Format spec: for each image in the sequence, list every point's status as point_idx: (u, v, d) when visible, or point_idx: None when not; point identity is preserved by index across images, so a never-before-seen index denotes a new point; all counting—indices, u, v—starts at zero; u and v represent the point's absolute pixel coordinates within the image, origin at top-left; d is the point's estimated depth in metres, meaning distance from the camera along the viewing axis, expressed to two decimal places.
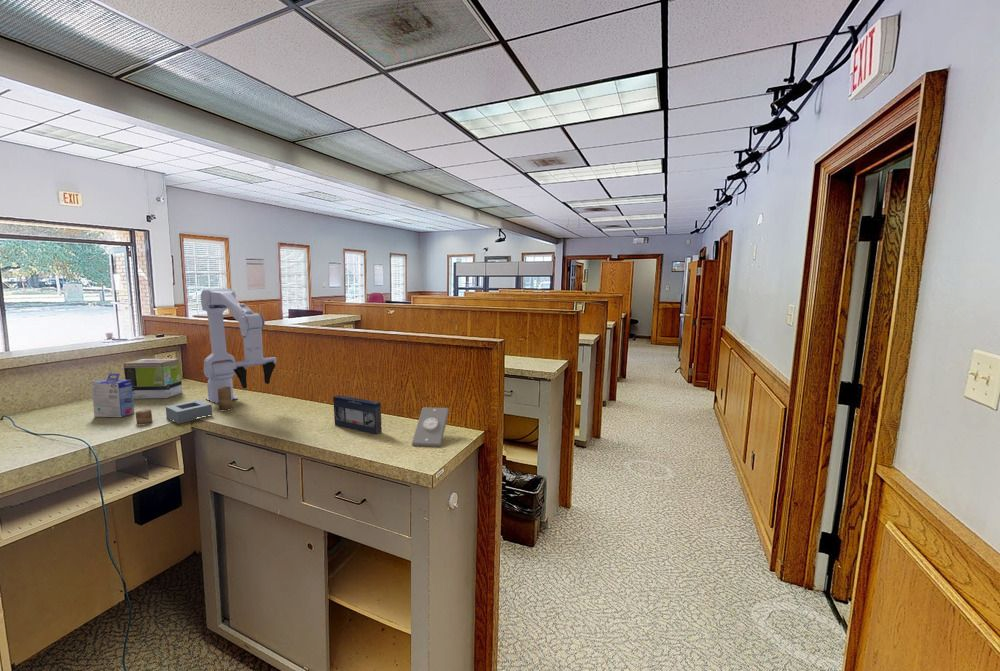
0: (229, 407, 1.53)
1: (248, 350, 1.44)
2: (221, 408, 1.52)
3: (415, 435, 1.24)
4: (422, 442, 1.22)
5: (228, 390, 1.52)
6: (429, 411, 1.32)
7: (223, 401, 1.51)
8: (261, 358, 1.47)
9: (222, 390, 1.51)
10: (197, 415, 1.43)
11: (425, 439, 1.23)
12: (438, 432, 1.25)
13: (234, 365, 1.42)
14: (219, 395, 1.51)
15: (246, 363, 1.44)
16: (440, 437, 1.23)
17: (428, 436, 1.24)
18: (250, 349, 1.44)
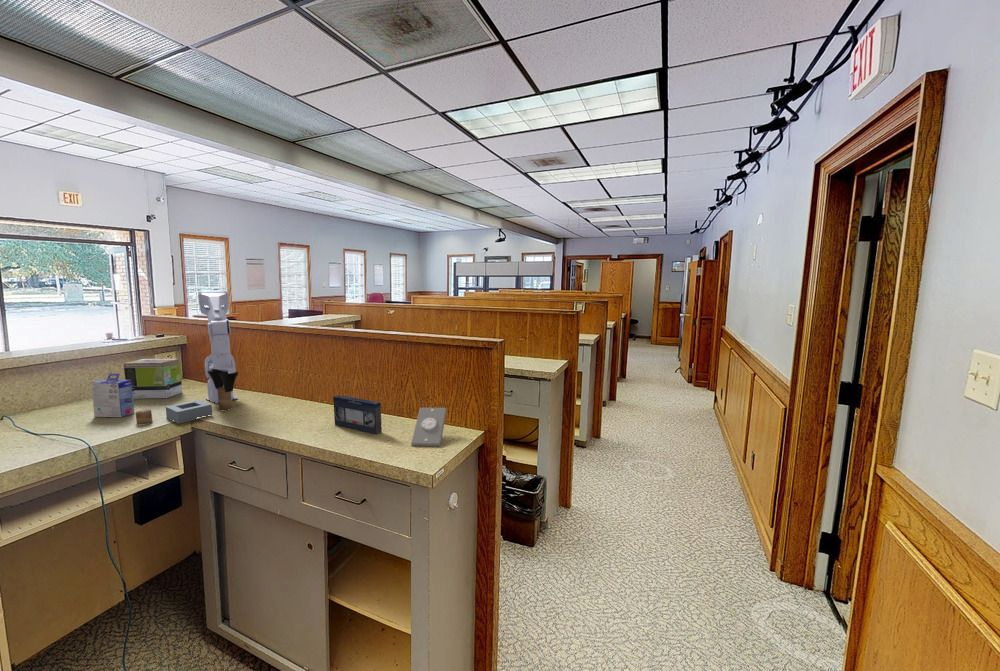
0: (229, 407, 1.53)
1: None
2: (221, 408, 1.52)
3: (414, 435, 1.24)
4: (421, 442, 1.22)
5: None
6: (427, 411, 1.32)
7: (223, 401, 1.51)
8: (216, 365, 1.49)
9: (222, 390, 1.51)
10: (197, 415, 1.43)
11: (424, 439, 1.23)
12: (437, 432, 1.25)
13: (210, 365, 1.54)
14: (219, 395, 1.51)
15: (211, 366, 1.52)
16: (439, 437, 1.23)
17: (427, 436, 1.23)
18: None
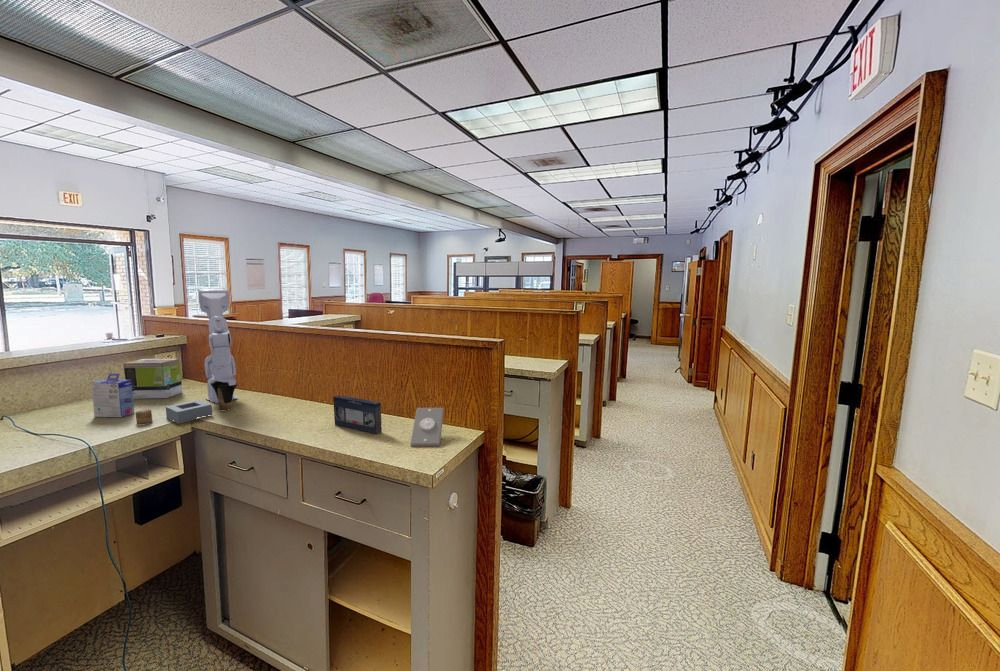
0: (229, 407, 1.53)
1: None
2: (221, 408, 1.52)
3: (413, 436, 1.23)
4: (421, 442, 1.22)
5: None
6: (425, 411, 1.31)
7: (223, 401, 1.51)
8: (217, 377, 1.49)
9: None
10: (197, 415, 1.43)
11: (423, 439, 1.22)
12: (436, 432, 1.25)
13: (211, 376, 1.55)
14: (219, 395, 1.51)
15: (212, 377, 1.52)
16: (438, 437, 1.23)
17: (426, 436, 1.23)
18: None
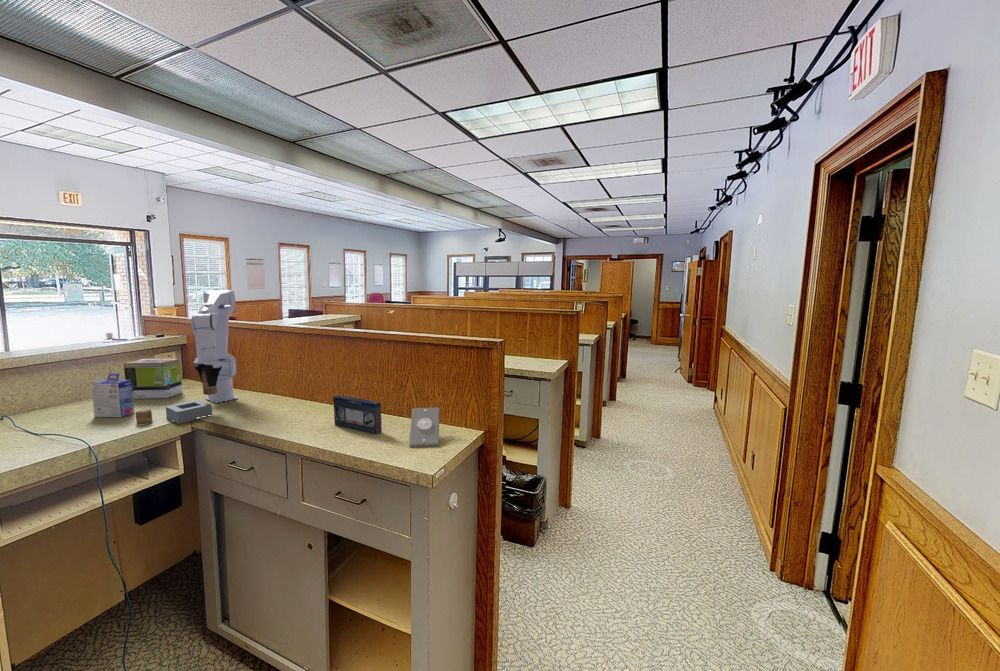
0: (214, 391, 1.49)
1: None
2: (205, 392, 1.47)
3: (411, 436, 1.23)
4: (420, 443, 1.21)
5: None
6: (420, 412, 1.31)
7: (207, 384, 1.47)
8: (201, 359, 1.45)
9: None
10: (197, 415, 1.43)
11: (422, 439, 1.22)
12: (434, 432, 1.25)
13: (195, 360, 1.50)
14: (203, 378, 1.47)
15: (196, 360, 1.48)
16: (437, 436, 1.24)
17: (424, 436, 1.23)
18: None
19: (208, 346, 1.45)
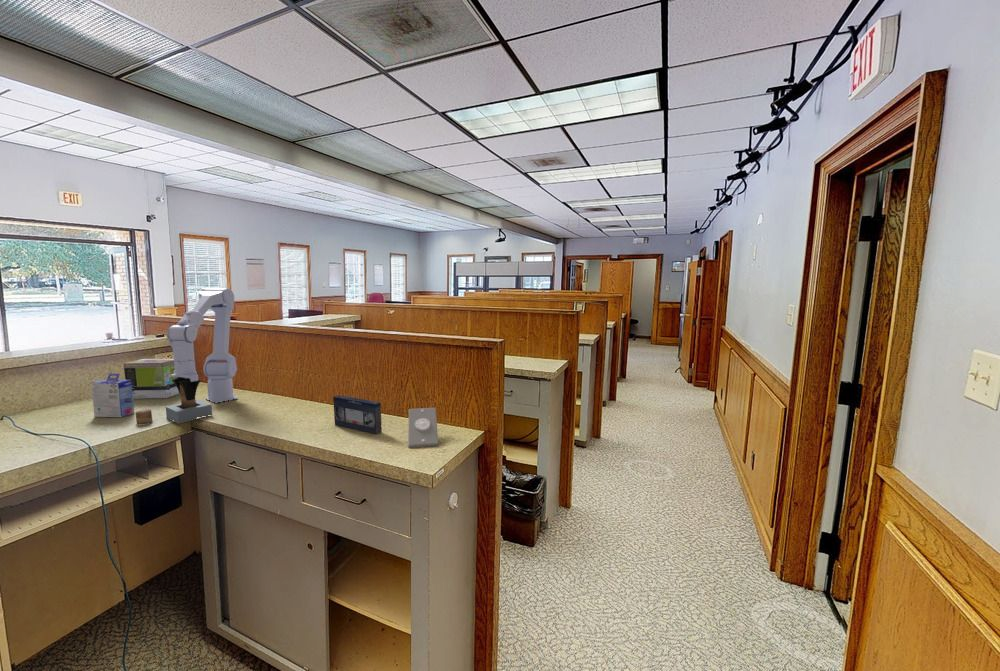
0: (192, 405, 1.44)
1: None
2: (183, 406, 1.43)
3: (410, 437, 1.22)
4: (419, 443, 1.21)
5: None
6: (417, 412, 1.31)
7: (185, 398, 1.42)
8: (178, 372, 1.40)
9: None
10: (197, 415, 1.43)
11: (421, 440, 1.22)
12: (433, 432, 1.25)
13: (174, 372, 1.46)
14: (181, 392, 1.42)
15: None
16: (436, 436, 1.24)
17: (423, 436, 1.23)
18: None
19: (183, 359, 1.40)
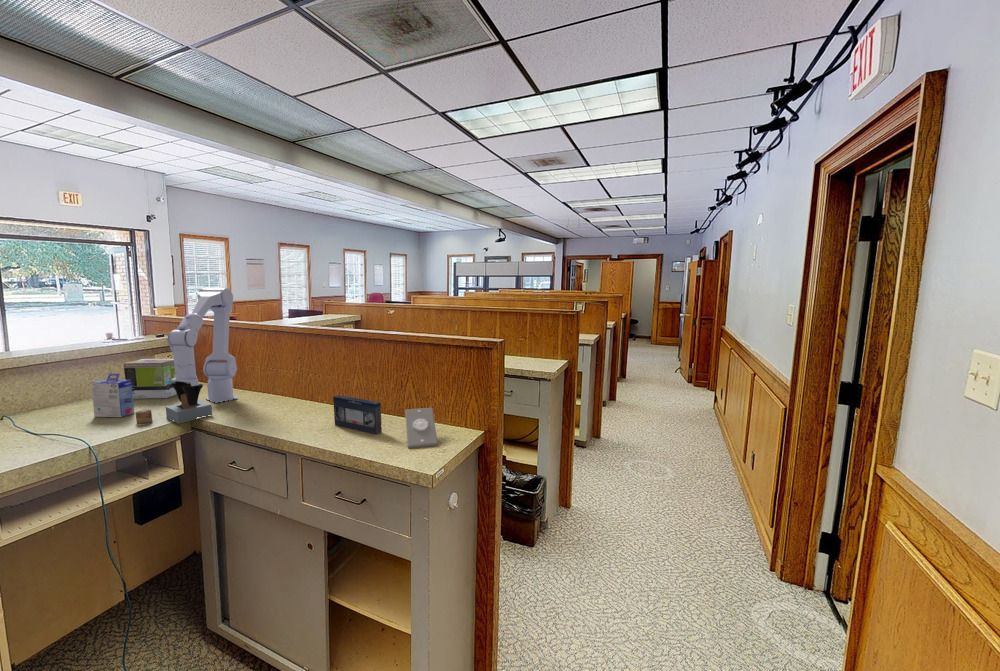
0: None
1: None
2: None
3: (408, 438, 1.22)
4: (418, 443, 1.21)
5: None
6: (414, 412, 1.30)
7: None
8: (179, 376, 1.40)
9: (185, 397, 1.42)
10: (197, 415, 1.43)
11: (420, 440, 1.22)
12: (431, 432, 1.25)
13: (174, 376, 1.46)
14: (182, 402, 1.42)
15: None
16: (435, 436, 1.24)
17: (422, 437, 1.23)
18: None
19: (183, 363, 1.40)
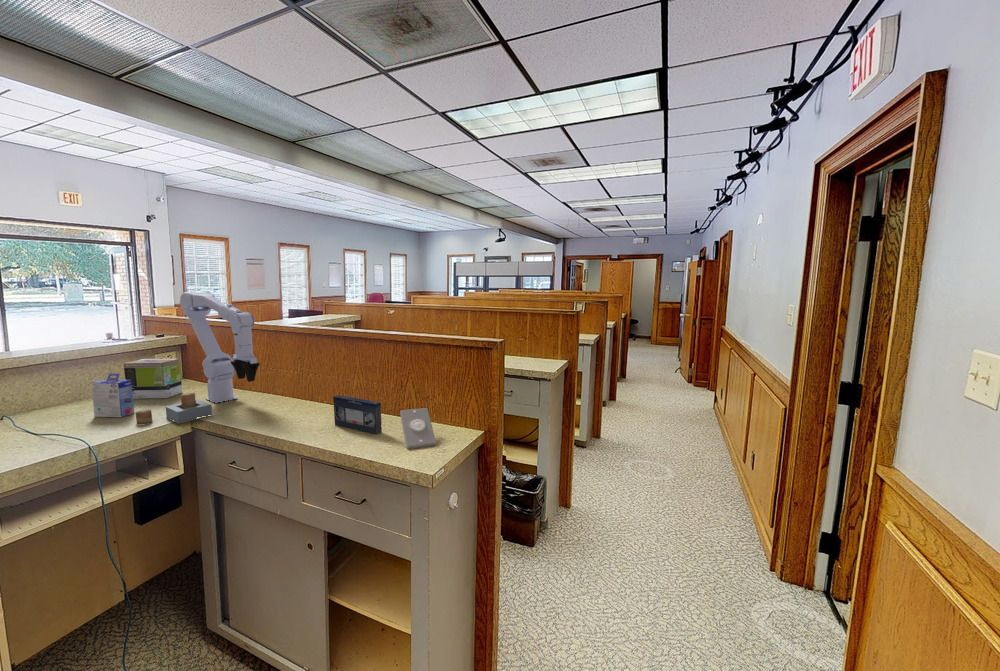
0: None
1: None
2: None
3: (407, 438, 1.21)
4: (417, 444, 1.20)
5: (192, 396, 1.44)
6: (410, 413, 1.29)
7: None
8: (239, 355, 1.55)
9: (185, 397, 1.42)
10: (197, 415, 1.43)
11: (419, 440, 1.21)
12: (429, 432, 1.25)
13: (233, 356, 1.61)
14: (182, 402, 1.43)
15: (234, 356, 1.58)
16: (433, 436, 1.24)
17: (420, 437, 1.23)
18: None
19: (251, 342, 1.57)
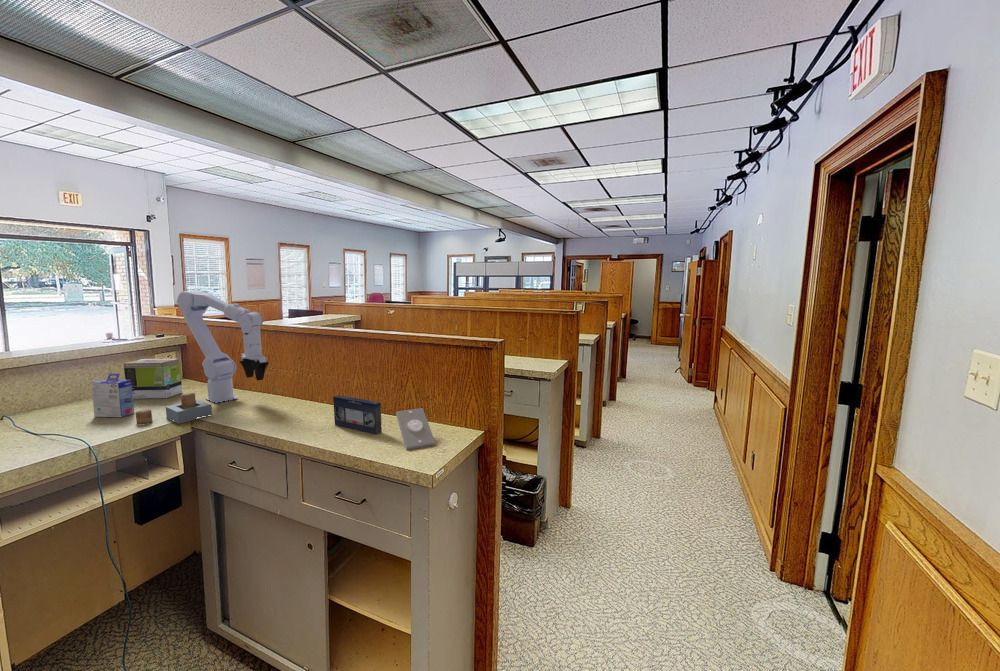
0: None
1: None
2: None
3: (406, 439, 1.21)
4: (417, 444, 1.20)
5: (192, 396, 1.44)
6: (406, 414, 1.29)
7: None
8: (248, 354, 1.57)
9: (185, 397, 1.42)
10: (197, 415, 1.43)
11: (418, 441, 1.21)
12: (427, 432, 1.25)
13: None
14: (182, 402, 1.43)
15: (243, 355, 1.60)
16: (431, 436, 1.24)
17: (419, 437, 1.22)
18: None
19: (260, 341, 1.60)
